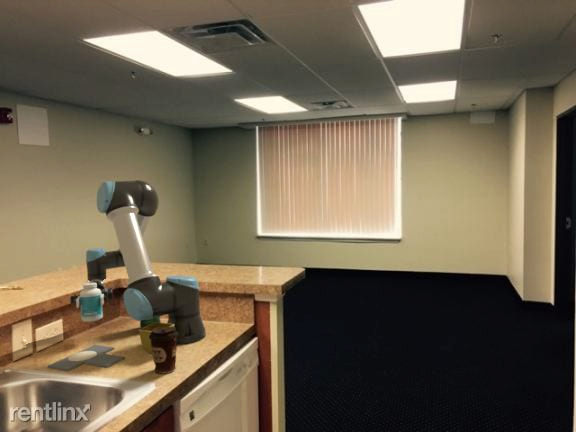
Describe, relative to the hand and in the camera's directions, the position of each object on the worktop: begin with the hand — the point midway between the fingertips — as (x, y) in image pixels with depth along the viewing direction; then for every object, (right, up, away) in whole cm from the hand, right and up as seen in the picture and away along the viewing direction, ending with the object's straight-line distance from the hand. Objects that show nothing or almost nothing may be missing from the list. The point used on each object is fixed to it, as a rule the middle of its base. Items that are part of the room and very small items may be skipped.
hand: (89, 302), depth 168 cm
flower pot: (+27, -16, -8) cm, 32 cm away
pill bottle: (-1, -7, +5) cm, 9 cm away
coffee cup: (+34, -17, -24) cm, 44 cm away
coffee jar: (+17, -14, +19) cm, 29 cm away
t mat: (+7, -17, -12) cm, 22 cm away
